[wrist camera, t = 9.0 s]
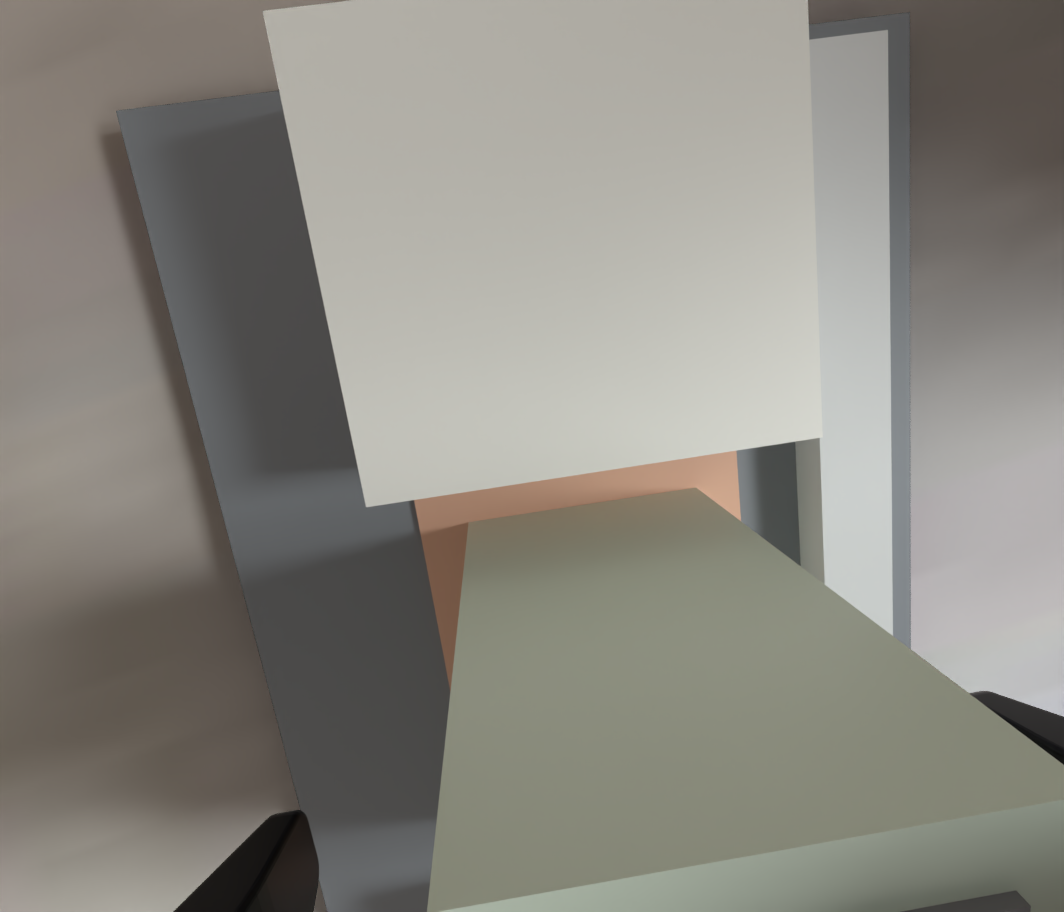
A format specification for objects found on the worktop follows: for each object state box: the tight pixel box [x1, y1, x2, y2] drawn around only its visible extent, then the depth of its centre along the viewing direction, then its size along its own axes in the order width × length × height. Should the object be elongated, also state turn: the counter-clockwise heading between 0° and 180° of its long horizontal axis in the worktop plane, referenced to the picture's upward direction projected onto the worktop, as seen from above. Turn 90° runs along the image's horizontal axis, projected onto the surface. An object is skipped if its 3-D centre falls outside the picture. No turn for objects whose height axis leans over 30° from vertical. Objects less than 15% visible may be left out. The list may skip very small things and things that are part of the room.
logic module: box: [427, 488, 1064, 912], centre depth 7 cm, size 4×6×7 cm, turn 8°
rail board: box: [116, 0, 911, 912], centre depth 10 cm, size 12×20×3 cm, turn 8°
